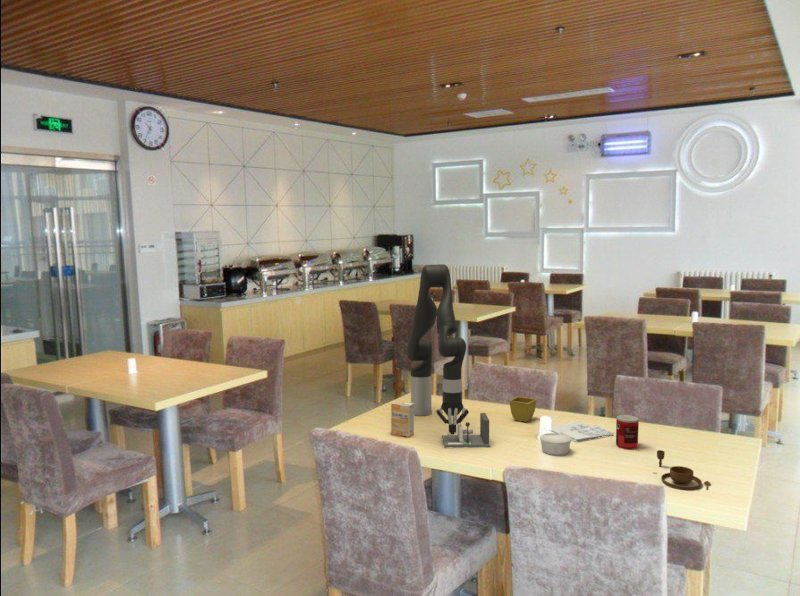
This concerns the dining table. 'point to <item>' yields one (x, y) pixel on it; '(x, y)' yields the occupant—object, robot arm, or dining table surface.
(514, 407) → the flower pot
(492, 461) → the dining table surface
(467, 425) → the black ball-ended rod
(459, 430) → the pad
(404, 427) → the supplement box
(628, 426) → the canned food
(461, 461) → the dining table surface
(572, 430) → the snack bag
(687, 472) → the place setting
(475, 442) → the gauge frame
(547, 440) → the ramekin
